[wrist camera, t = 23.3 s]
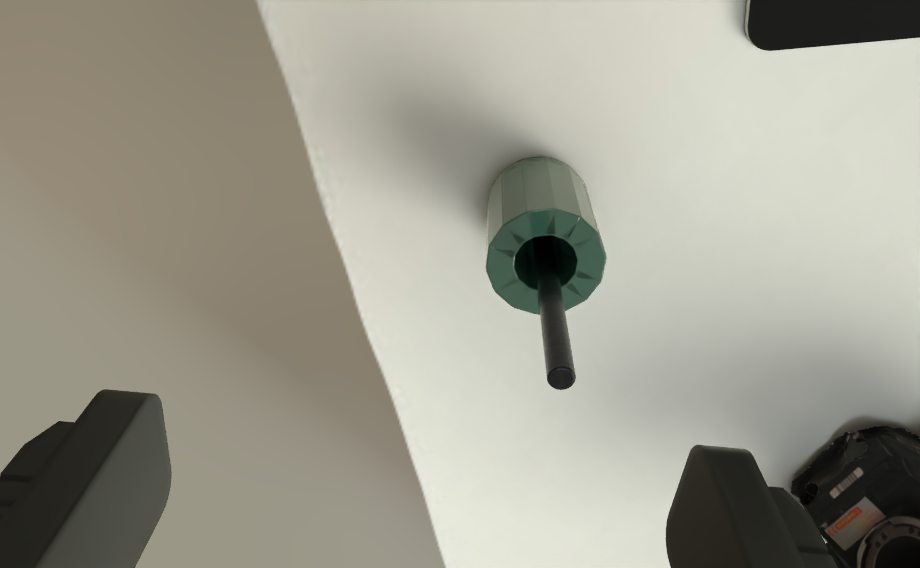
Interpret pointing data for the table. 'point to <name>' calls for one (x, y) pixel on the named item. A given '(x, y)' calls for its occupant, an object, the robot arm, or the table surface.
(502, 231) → the holder
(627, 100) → the table surface
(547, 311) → the stylus
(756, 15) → the tablet
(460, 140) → the table surface
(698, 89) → the table surface
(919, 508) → the movie camera
